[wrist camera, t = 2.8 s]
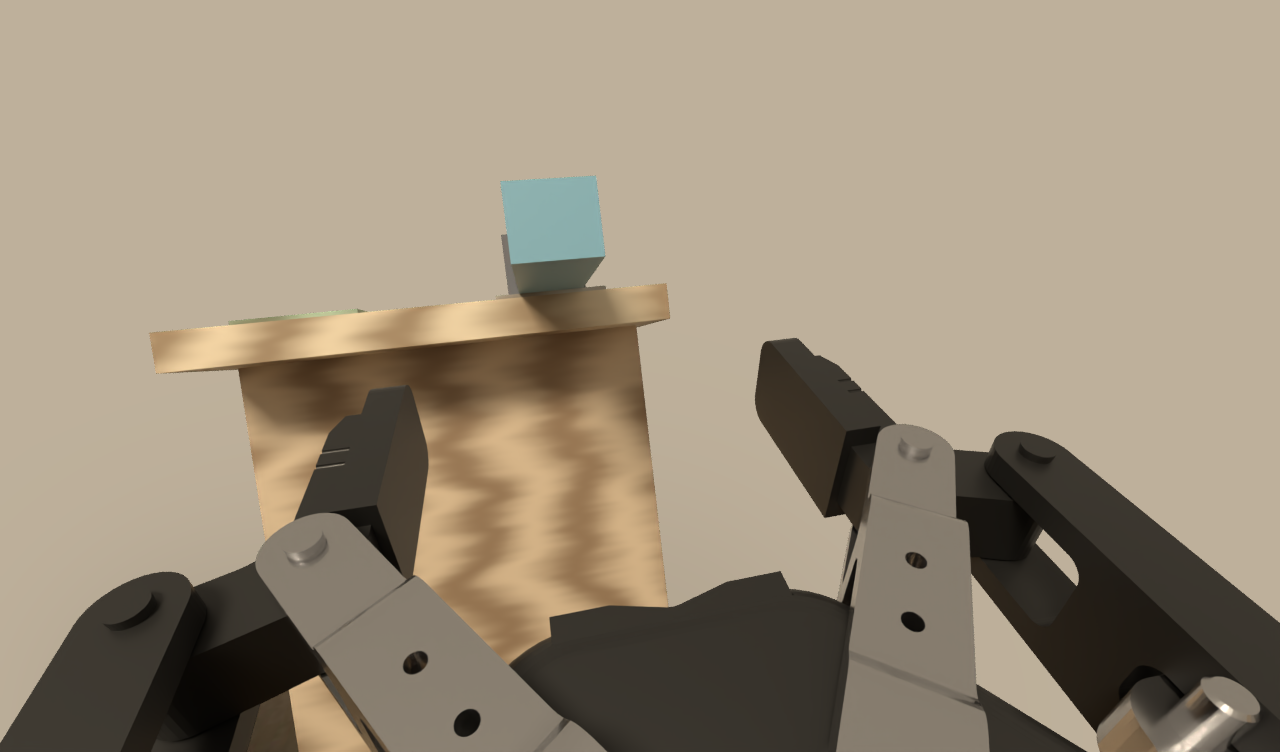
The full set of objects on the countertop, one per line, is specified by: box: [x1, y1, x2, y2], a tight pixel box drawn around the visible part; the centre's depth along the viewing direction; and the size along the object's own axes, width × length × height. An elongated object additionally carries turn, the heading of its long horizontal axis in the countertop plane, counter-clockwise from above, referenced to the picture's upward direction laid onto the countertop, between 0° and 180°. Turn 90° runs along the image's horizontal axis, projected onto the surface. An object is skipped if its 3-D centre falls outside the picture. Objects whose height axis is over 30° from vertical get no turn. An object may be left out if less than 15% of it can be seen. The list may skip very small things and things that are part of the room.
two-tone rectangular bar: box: [501, 176, 605, 295], centre depth 31 cm, size 5×22×4 cm, turn 11°
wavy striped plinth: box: [149, 284, 670, 752], centre depth 37 cm, size 26×13×32 cm, turn 101°
